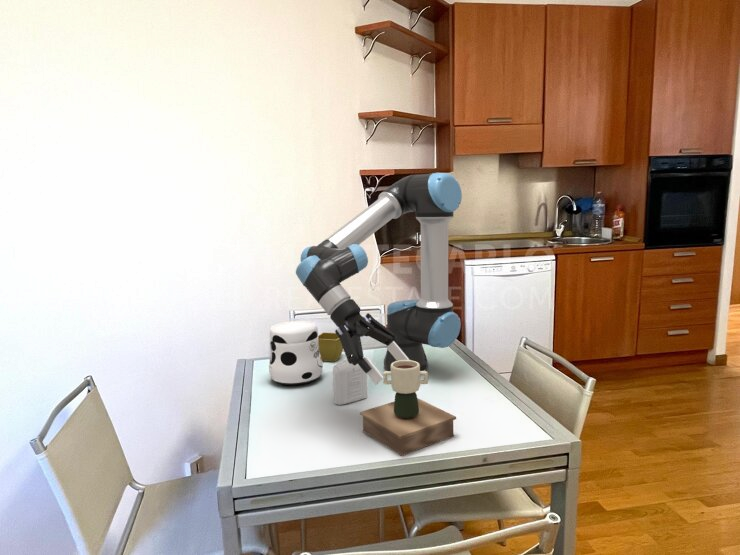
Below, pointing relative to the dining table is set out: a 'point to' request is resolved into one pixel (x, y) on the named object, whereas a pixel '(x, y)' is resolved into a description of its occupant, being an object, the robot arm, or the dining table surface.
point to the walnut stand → (408, 427)
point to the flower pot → (329, 346)
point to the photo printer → (349, 383)
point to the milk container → (294, 353)
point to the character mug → (405, 386)
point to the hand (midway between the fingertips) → (393, 372)
